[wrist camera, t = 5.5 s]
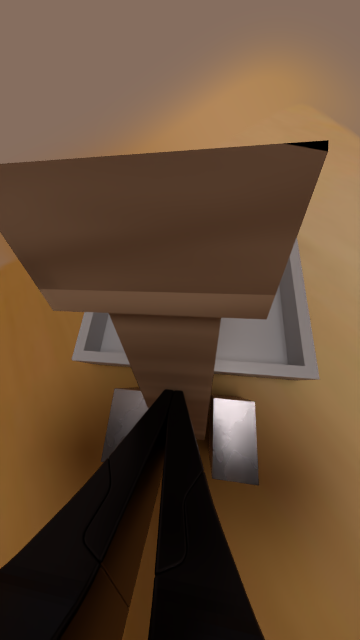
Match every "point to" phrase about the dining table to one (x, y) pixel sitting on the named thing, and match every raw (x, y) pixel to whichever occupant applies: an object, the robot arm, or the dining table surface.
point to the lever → (163, 247)
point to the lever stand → (224, 432)
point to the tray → (233, 337)
